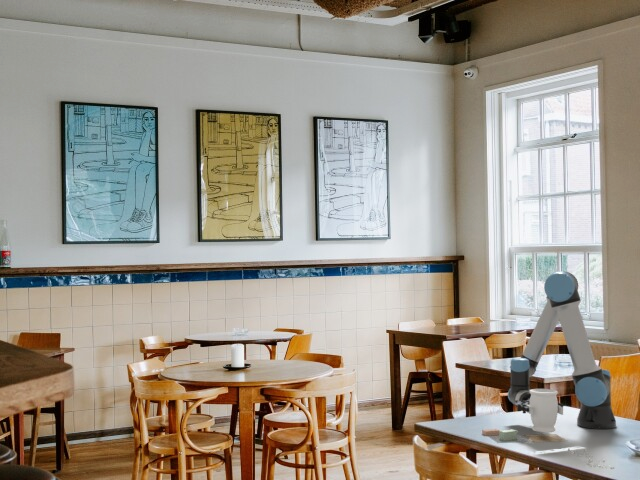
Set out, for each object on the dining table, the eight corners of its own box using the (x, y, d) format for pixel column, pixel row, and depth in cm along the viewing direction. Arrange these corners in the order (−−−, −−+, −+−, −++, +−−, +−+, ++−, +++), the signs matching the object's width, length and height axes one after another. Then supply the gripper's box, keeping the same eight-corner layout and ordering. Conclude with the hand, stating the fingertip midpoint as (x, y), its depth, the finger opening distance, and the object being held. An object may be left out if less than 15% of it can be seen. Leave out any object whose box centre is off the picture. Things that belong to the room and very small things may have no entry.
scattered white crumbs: (588, 452, 290) (588, 448, 290) (614, 470, 265) (614, 465, 265) (568, 452, 290) (568, 448, 290) (592, 470, 265) (592, 465, 265)
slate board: (519, 438, 312) (519, 435, 312) (529, 445, 300) (529, 441, 300) (488, 439, 311) (488, 436, 311) (497, 446, 299) (497, 442, 299)
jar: (559, 434, 301) (559, 393, 301) (530, 432, 303) (530, 392, 303) (556, 428, 311) (556, 388, 312) (528, 427, 313) (528, 387, 314)
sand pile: (556, 437, 313) (556, 434, 313) (567, 444, 301) (567, 440, 301) (522, 438, 312) (522, 435, 312) (533, 445, 300) (533, 441, 300)
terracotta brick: (496, 436, 317) (496, 428, 317) (500, 438, 314) (499, 430, 314) (482, 437, 315) (482, 429, 315) (485, 439, 312) (485, 431, 312)
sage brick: (512, 437, 308) (512, 429, 308) (517, 438, 306) (517, 430, 306) (499, 438, 306) (499, 430, 306) (504, 440, 303) (504, 432, 303)
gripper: (555, 410, 326) (577, 420, 304) (499, 410, 324) (517, 421, 302) (555, 391, 326) (577, 400, 304) (499, 391, 324) (517, 401, 302)
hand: (547, 411), depth 303 cm, fingers closed on jar, 10 cm apart
